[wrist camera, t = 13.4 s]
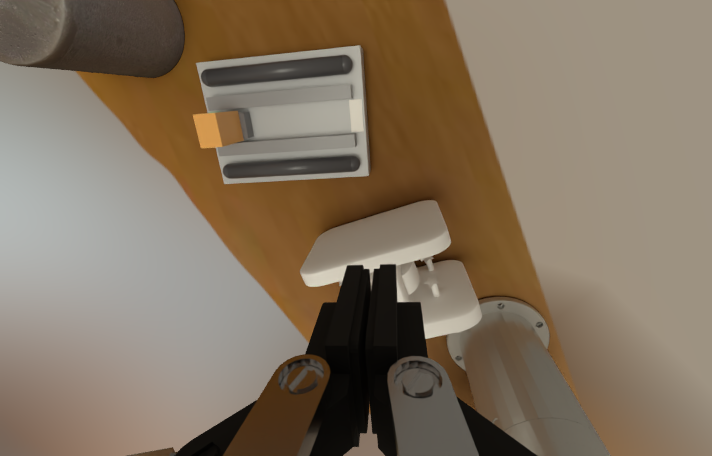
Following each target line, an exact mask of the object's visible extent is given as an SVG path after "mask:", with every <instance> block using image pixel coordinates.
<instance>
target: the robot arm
mask: <svg viewBox="0 0 712 456" xmlns="http://www.w3.org/2000/svg"><path fill="white" fill-rule="evenodd" d="M478 302H479V306H480V309H481V313H482V318H481V320H480V321H479V323H477V324H476V325H475V326H473V327H471V328H470V329H467V330H464V331H461V332H459V333H451V334H447V335H446V340H447V346H448V350H449V353H450V355H451V357H452V359H453V360H454V361H455V363H456V364H457V365H458V366H459V367H461V368H462V369H463V370H465V371H466V373H467V377H468V380H469V384H470V388H471V392H472V396H473V399H474V403H475V407H476V411H475V410H474V409H473V408H471V407H470V406H469V405H467V404H466V403H464V402H463V401H462V400H460V399H459V398H458V397H456V395H455V392H454V389H453V387H452V384H451V382H450V379H449V377H448V374H447V373H446V371H445V369H444V368H443V367H442V366H441V365H440V364H438V363H437V362H435V361H433V360H431V359H430V358H428V355H427V347H426V340H425V332H424V324H423V316H422V309H421V302H397V277H396V264H380V269H374V272H373V281H372V289H371V282H370V270H369V269H364V266H363V265H347V267H346V271H345V274H344V278H343V281H342V285H341V288H340V292H339V296H338V299H337V302H331V303H323V305H322V307H321V310H320V313H319V316H318V319H317V322H316V325H315V327H314V330H313V333H312V336H311V339H310V342H309V345H308V348H307V351H306V354H305V355H299V356H295V357H293V358H291V359H288V360H287V361H285V362H284V363H283V364H281V365H280V366H279V367H278V369H277V370H276V371H275V372H274V374H273V376H272V377H271V379H270V381H269V382H268V384H267V386H266V387H265V389H264V390H263V392H262V393H261V395H260V397H259V398H258V400H256V401H255V402H253V403H251V404H250V405H248V406H246V407H245V408H243V409H242V410H240V411H238V412H237V413H235V414H233V415H232V416H230V417H229V418H227V419H225V420H224V421H222V422H220V423H219V424H217V425H216V426H214V427H212V428H211V429H209V430H207V431H206V432H204V433H203V434H201V435H199V436H198V437H196V438H194V439H193V440H191V441H190V442H189V443H187V444H186V445H185V446H183V447H182V448H181V449H180V450H179V451H178V452H175V451H174V449H173V447H172V448H167V449H162V450H156V451H150V452H145V453H139V454H134V455H128V456H343V455H344V454H345V453H347V452H348V451H349V450H350V449H351V448H352V447H359V437H360V433H367V427H368V415H369V403H370V411H371V422H372V432H373V434H377V438H378V448H379V449H380V450H381V451H382V452H383V453H384V455H385V456H610V453H609V452H608V450H607V449H606V447H605V445H604V444H603V442H602V440H601V439H600V437H599V435H598V434H597V432H596V431H595V429H594V427H593V425H592V424H591V422H590V420H589V419H588V417H587V415H586V414H585V412H584V410H583V409H582V407H581V405H580V404H579V402H578V400H577V399H576V397H575V395H574V394H573V392H572V390H571V389H570V387H569V385H568V384H567V382H566V380H565V379H564V377H563V375H562V374H561V372H560V371H559V369H558V367H557V366H556V364H555V362H554V361H553V359H552V357H551V356H550V354H549V352H548V351H547V348H548V345H549V337H550V334H549V329H548V326H547V324H546V322H545V320H544V319H543V317H542V316H541V314H540V313H539V312H538V311H537V310H536V309H535V308H534V307H532V306H531V305H529V304H527V303H526V302H523V301H521V300H518V299H515V298H509V297H490V298H485V299H481V300H478Z"/></svg>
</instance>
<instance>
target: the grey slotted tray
mask: <svg viewBox="0 0 712 456" xmlns="http://www.w3.org/2000/svg"><path fill="white" fill-rule="evenodd" d="M196 64H197V69H198V73H199V77H200V82H201V86H202V90H203V95H204V99H205V103H206V107H207V112H208V113H216V112H228V111H238V113H240V112H249V114H250V119H251V124H252V129H253V135H254V136H253V137H250V138H243V139H244V141H240V142H237V143H234V144H230V145H227V146H224V147H216V150H217V155H218V159H219V163H220V168H221V172H222V176H223V181H224V184H232V183H250V182H268V181H286V180H304V179H322V178H340V177H358V176H369V174H370V170H371V168H370V152H369V136H368V121H367V105H366V90H365V74H364V59H363V49H362V48H361V46H360V45H359V46H350V47H341V48H331V49H322V50H313V51H304V52H294V53H285V54H276V55H266V56H257V57H248V58H238V59H229V60H220V61H211V62H201V63H196Z"/></svg>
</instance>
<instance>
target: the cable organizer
mask: <svg viewBox="0 0 712 456" xmlns="http://www.w3.org/2000/svg"><path fill="white" fill-rule="evenodd" d="M450 244H451V239H450V235H449V232H448V229H447V226H446V223H445V221H444V218H443V216H442V213H441V211H440V208H439V206H438V204H437V202H436V201H434V200H425V201H420V202H416V203H413V204H409V205H406V206H403V207H400V208H396V209H393V210H390V211H387V212H383V213H380V214H377V215H374V216H371V217H367V218H364V219H361V220H358V221H354V222H351V223H348V224H345V225H341V226H338V227H335V228H333V229H330V230H328V231H326V232H324V233H323V234H321V235H320V236H319V237H318V238H317V240H316V242H315V243H314V245H313V247H312V249H311V251H310V253H309V255H308V256H307V258H306V260H305V262H304V264H303V266H302V268H301V270H300V273H301V275H302V278H303V280H304V282H305V284H306V285H307V286H310V287H318V286H323V285H327V284H331V283H334V282H340V284H339V286H341V285H342V281H343V278H344V274H345V271H346V267H347V265H363V266H364V269H369V270H370V282H371V289H372V281H373V272H374V269H380V264H396V277H397V302H421V309H422V316H423V324H424V332H425V339H428V338H432V337H437V336H442V335H447V334H451V333H459V332H461V331H464V330H467V329H470V328H471V327H473V326H475V325H476V324H477V323H479V321H480V320H481V318H482V313H481V309H480V306H479V302H478V299H477V297H476V294H475V292H474V289H473V287H472V284H471V282H470V280H469V277H468V275H467V272H466V270H465V267H464V265H463V263H462V262H460V261H457V260H445V261H440V262H436V263H432V260H431V259H434V258H433V257H431V256H433V255H436V254H438V253H440V252H442V251H444V250H445V249H447V248H448V247H449V246H450ZM416 260H421V262H422V261H423V260H424V261H425V263H426V264H427V265H425V266H421V267H418V268H416V265H415V263H414V261H416Z"/></svg>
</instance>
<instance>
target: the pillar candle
mask: <svg viewBox="0 0 712 456" xmlns="http://www.w3.org/2000/svg"><path fill="white" fill-rule="evenodd" d="M183 46H184V26H183V22H182V17H181V14H180V12H179V9H178V7H177V5H176V3H175V1H174V0H0V61H2V62H5V63H8V64H12V65H17V66H26V67H37V68H50V69H61V70H72V71H84V72H91V73H93V72H96V73H104V74H116V75H126V76H127V75H128V76H135V77H148V78H150V77H151V78H156V77H159V76H162V75H164V74H166V73H168V72H169V71H170V70H172V68H173V67H174V66H175V65H176V64H177V63H178V61H179V59H180V57H181V54H182V52H183Z"/></svg>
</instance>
